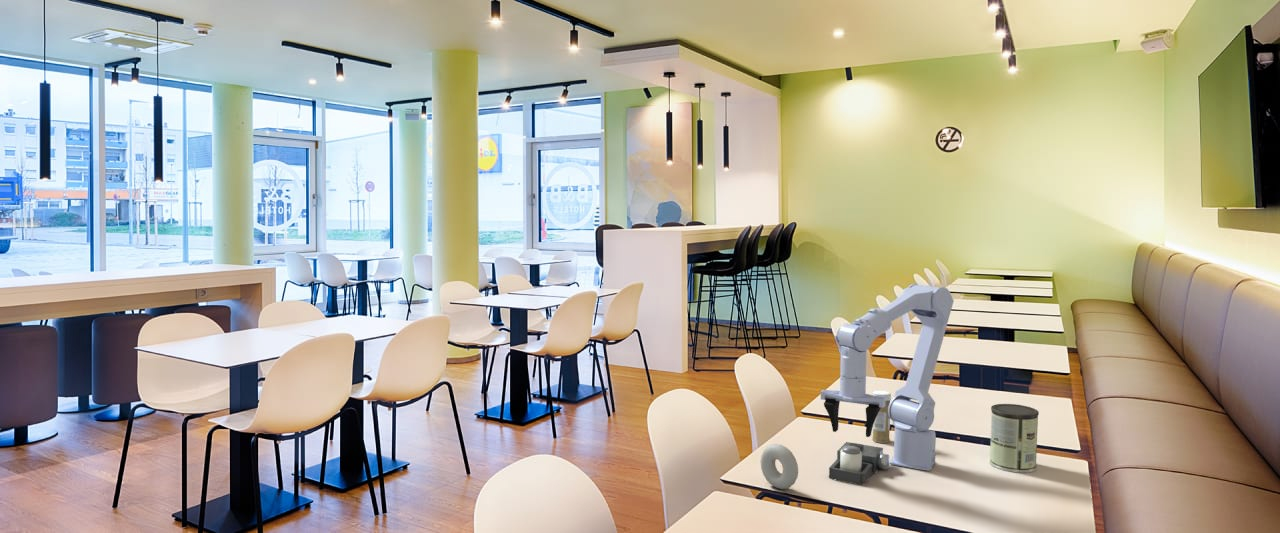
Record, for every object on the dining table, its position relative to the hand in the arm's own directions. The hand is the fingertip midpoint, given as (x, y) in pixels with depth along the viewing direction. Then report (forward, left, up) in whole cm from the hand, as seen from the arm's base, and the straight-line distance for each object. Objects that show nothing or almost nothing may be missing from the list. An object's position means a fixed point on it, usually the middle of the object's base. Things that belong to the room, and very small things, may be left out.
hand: (851, 433), depth 172 cm
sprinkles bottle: (0, -30, -10) cm, 32 cm away
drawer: (0, -8, -10) cm, 13 cm away
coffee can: (-32, -27, -11) cm, 44 cm away
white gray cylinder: (0, 0, -10) cm, 10 cm away
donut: (+12, +16, -10) cm, 22 cm away
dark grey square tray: (0, 0, -10) cm, 10 cm away
